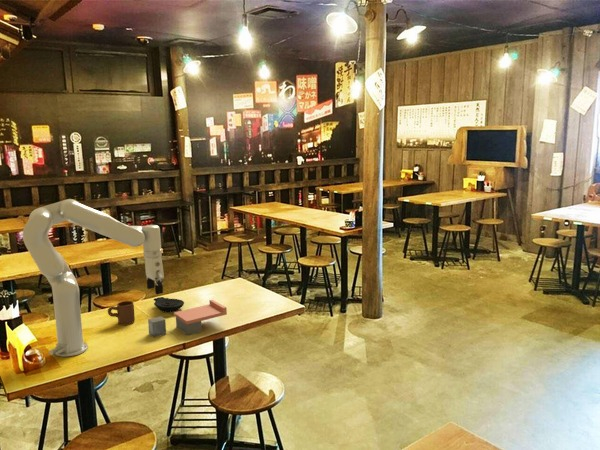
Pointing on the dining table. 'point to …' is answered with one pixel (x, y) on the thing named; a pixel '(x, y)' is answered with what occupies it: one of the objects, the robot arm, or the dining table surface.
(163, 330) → the block
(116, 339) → the dining table surface
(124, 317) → the mug
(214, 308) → the stand
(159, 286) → the robot arm
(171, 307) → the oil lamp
